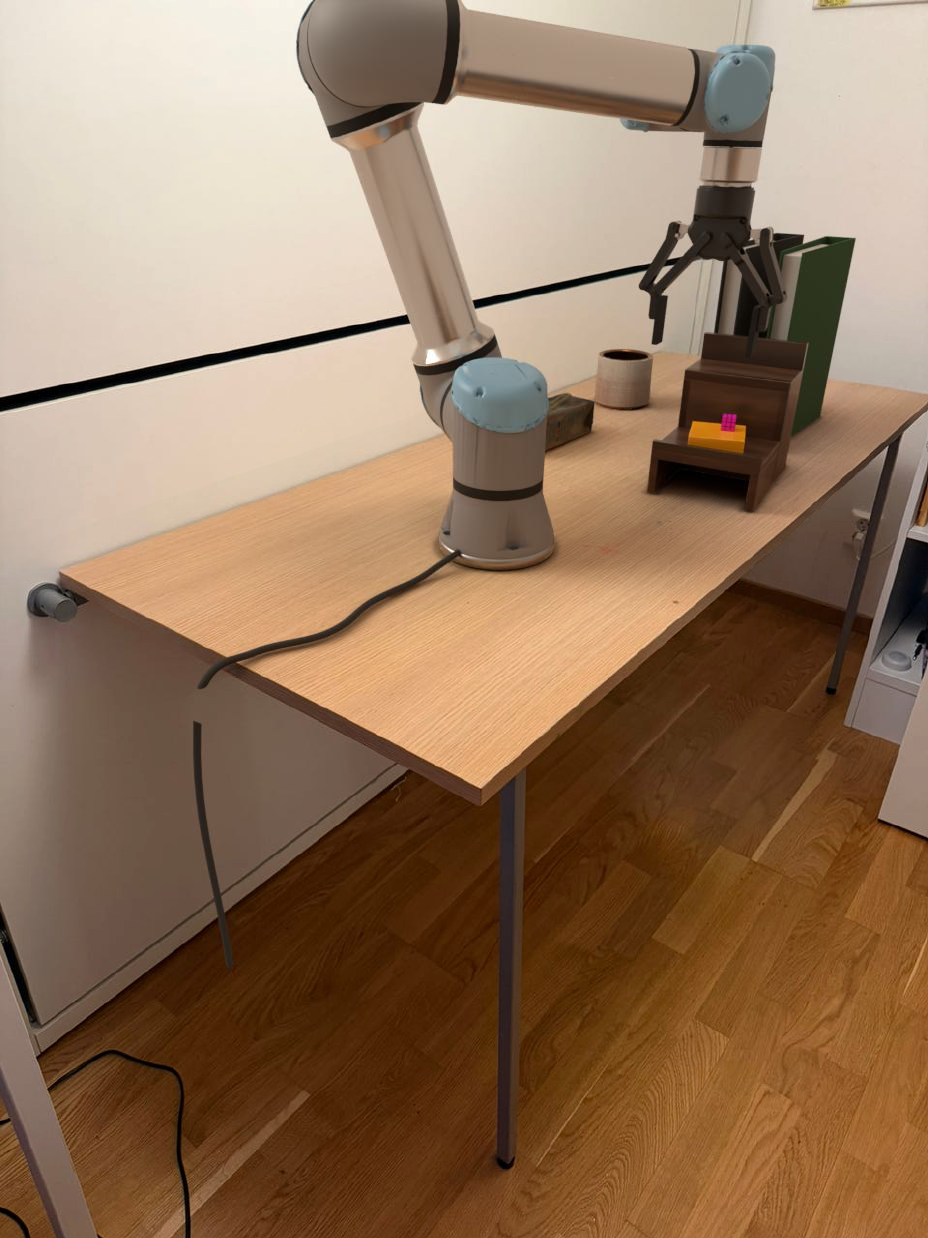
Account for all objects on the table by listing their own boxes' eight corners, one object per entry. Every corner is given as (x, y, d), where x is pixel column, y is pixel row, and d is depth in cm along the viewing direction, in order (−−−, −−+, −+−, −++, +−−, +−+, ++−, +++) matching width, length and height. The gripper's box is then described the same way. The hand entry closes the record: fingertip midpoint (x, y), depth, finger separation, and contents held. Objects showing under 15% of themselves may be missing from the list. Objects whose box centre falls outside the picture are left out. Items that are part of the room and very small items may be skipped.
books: (773, 453, 153) (809, 253, 138) (691, 437, 160) (716, 246, 145) (819, 416, 172) (855, 237, 157) (745, 404, 180) (772, 232, 164)
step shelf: (752, 512, 130) (776, 373, 120) (646, 492, 136) (661, 360, 127) (785, 466, 147) (808, 342, 138) (690, 450, 154) (706, 331, 144)
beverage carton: (594, 432, 163) (597, 396, 160) (533, 459, 150) (535, 420, 147) (558, 423, 167) (560, 388, 164) (496, 449, 154) (496, 411, 151)
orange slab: (742, 455, 130) (747, 427, 128) (686, 450, 132) (690, 422, 130) (744, 439, 137) (748, 412, 135) (690, 435, 139) (694, 408, 137)
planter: (584, 399, 183) (587, 351, 178) (628, 393, 187) (633, 346, 182) (613, 412, 174) (617, 363, 170) (659, 406, 178) (664, 357, 174)
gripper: (830, 187, 115) (797, 355, 125) (645, 179, 126) (629, 334, 136) (819, 190, 109) (785, 365, 120) (627, 180, 120) (611, 342, 130)
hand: (702, 349), depth 128 cm, fingers open, 13 cm apart
